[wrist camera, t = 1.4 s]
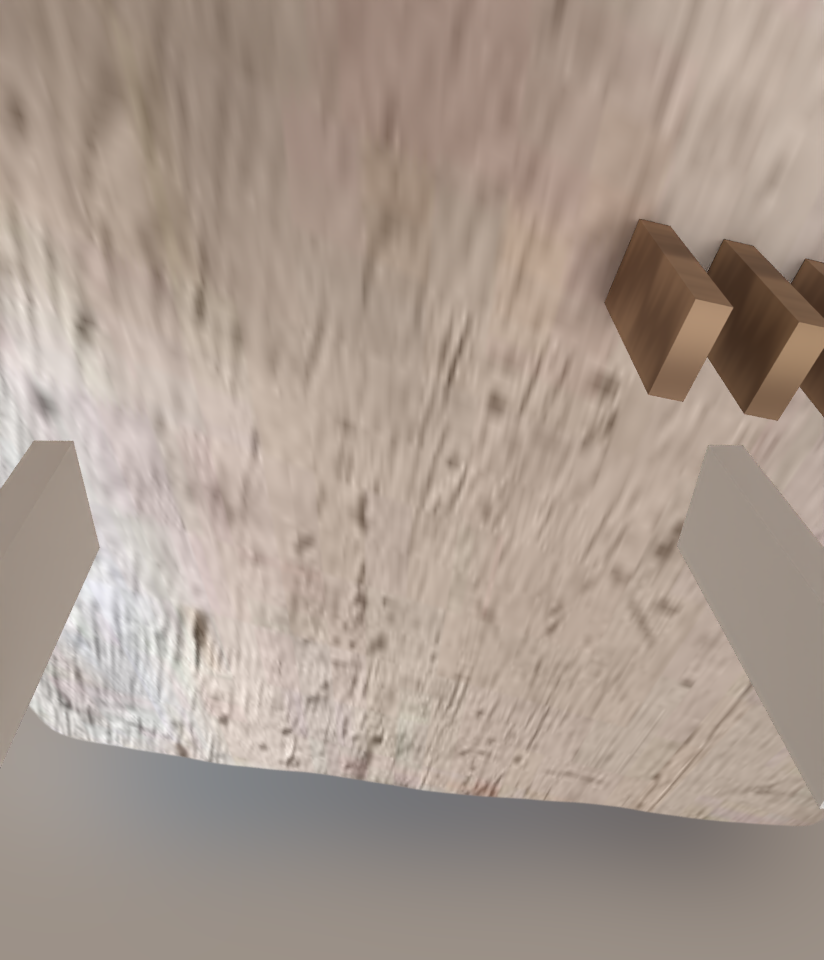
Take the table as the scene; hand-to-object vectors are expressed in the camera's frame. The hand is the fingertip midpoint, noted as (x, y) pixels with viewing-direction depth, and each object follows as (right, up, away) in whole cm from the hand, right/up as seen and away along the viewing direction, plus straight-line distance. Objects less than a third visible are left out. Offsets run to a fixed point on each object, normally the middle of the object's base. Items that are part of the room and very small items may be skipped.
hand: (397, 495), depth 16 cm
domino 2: (+18, +12, +27) cm, 34 cm away
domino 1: (+13, +12, +26) cm, 32 cm away
